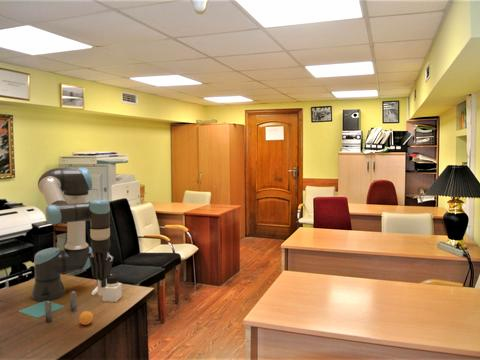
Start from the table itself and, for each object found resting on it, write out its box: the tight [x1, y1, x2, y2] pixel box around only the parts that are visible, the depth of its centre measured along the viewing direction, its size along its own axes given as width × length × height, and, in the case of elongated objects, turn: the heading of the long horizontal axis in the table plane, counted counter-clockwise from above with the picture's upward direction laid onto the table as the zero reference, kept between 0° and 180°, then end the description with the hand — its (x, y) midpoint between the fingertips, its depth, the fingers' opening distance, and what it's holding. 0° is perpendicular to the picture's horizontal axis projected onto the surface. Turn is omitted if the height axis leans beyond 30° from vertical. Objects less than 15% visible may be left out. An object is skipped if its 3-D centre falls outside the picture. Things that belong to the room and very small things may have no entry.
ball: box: [78, 310, 94, 326], centre depth 165 cm, size 6×6×6 cm
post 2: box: [69, 290, 78, 313], centre depth 178 cm, size 3×3×9 cm
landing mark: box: [17, 301, 65, 319], centre depth 180 cm, size 14×14×1 cm
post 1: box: [44, 300, 53, 324], centre depth 167 cm, size 3×3×9 cm
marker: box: [91, 285, 98, 296], centre depth 205 cm, size 18×2×2 cm, turn 3°
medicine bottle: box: [101, 273, 123, 303], centre depth 192 cm, size 7×7×12 cm
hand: (101, 294), depth 160 cm, fingers closed
